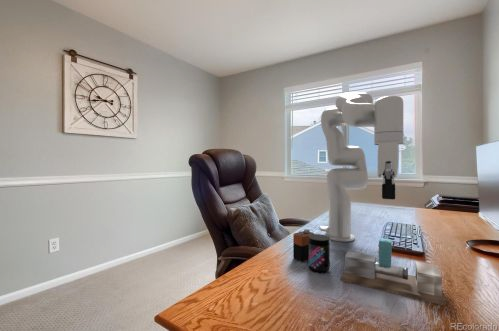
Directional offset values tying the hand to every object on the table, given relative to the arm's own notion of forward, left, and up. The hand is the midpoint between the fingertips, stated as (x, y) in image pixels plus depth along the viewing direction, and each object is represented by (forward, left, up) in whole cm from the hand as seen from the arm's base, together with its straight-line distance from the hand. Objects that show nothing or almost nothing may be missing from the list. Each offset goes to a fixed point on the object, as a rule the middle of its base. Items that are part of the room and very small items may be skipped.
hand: (388, 197), depth 72 cm
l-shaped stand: (-3, -3, -22) cm, 22 cm away
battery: (-26, +1, -24) cm, 36 cm away
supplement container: (-19, -5, -24) cm, 31 cm away
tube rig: (0, -3, -24) cm, 24 cm away
